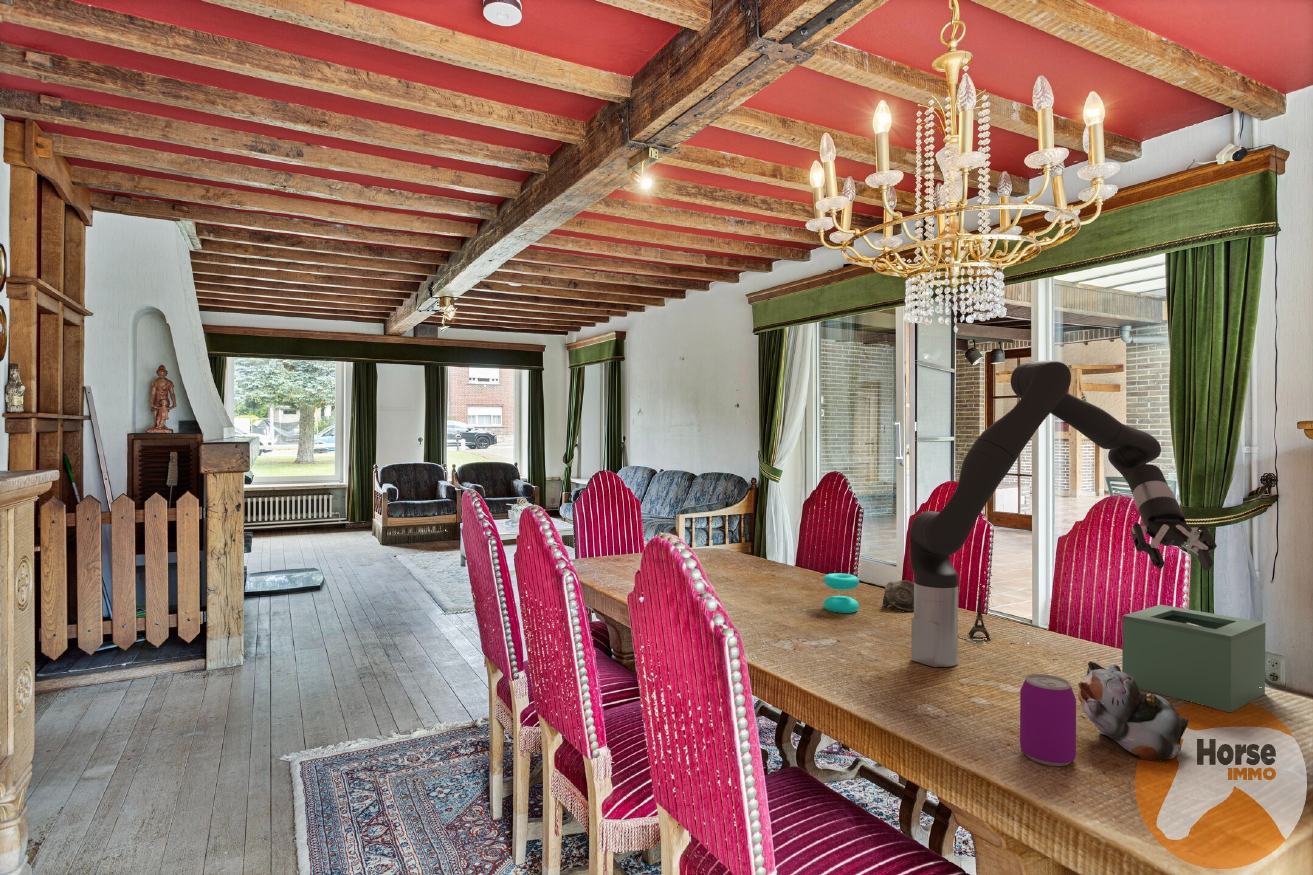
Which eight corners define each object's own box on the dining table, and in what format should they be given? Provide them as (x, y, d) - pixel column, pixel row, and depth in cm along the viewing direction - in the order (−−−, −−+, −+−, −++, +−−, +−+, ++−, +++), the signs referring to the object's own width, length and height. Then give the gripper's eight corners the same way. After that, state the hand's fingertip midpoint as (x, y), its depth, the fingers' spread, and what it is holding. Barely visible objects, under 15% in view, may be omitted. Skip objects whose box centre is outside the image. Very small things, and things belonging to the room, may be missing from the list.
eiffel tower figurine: (939, 633, 184) (940, 581, 184) (969, 629, 188) (969, 579, 188) (986, 649, 170) (986, 594, 170) (1017, 645, 174) (1017, 591, 174)
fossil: (900, 612, 202) (888, 578, 206) (881, 620, 209) (869, 587, 213) (929, 608, 206) (917, 574, 210) (909, 616, 213) (898, 584, 218)
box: (1230, 712, 130) (1231, 636, 130) (1122, 684, 145) (1122, 615, 145) (1264, 693, 140) (1265, 622, 140) (1160, 668, 155) (1160, 604, 155)
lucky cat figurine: (1172, 771, 107) (1120, 684, 109) (1095, 772, 116) (1049, 692, 119) (1202, 719, 116) (1153, 640, 118) (1128, 724, 125) (1084, 651, 127)
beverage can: (1087, 767, 108) (1087, 688, 108) (1038, 769, 107) (1039, 689, 107) (1055, 745, 115) (1055, 671, 115) (1009, 747, 115) (1010, 672, 115)
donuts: (846, 580, 199) (816, 575, 207) (846, 616, 199) (816, 609, 207) (865, 575, 206) (836, 571, 213) (865, 610, 206) (835, 604, 213)
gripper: (1127, 494, 156) (1152, 555, 145) (1200, 496, 153) (1232, 558, 142) (1116, 516, 161) (1139, 576, 150) (1187, 517, 158) (1216, 579, 147)
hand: (1184, 567), depth 146 cm, fingers open, 8 cm apart
